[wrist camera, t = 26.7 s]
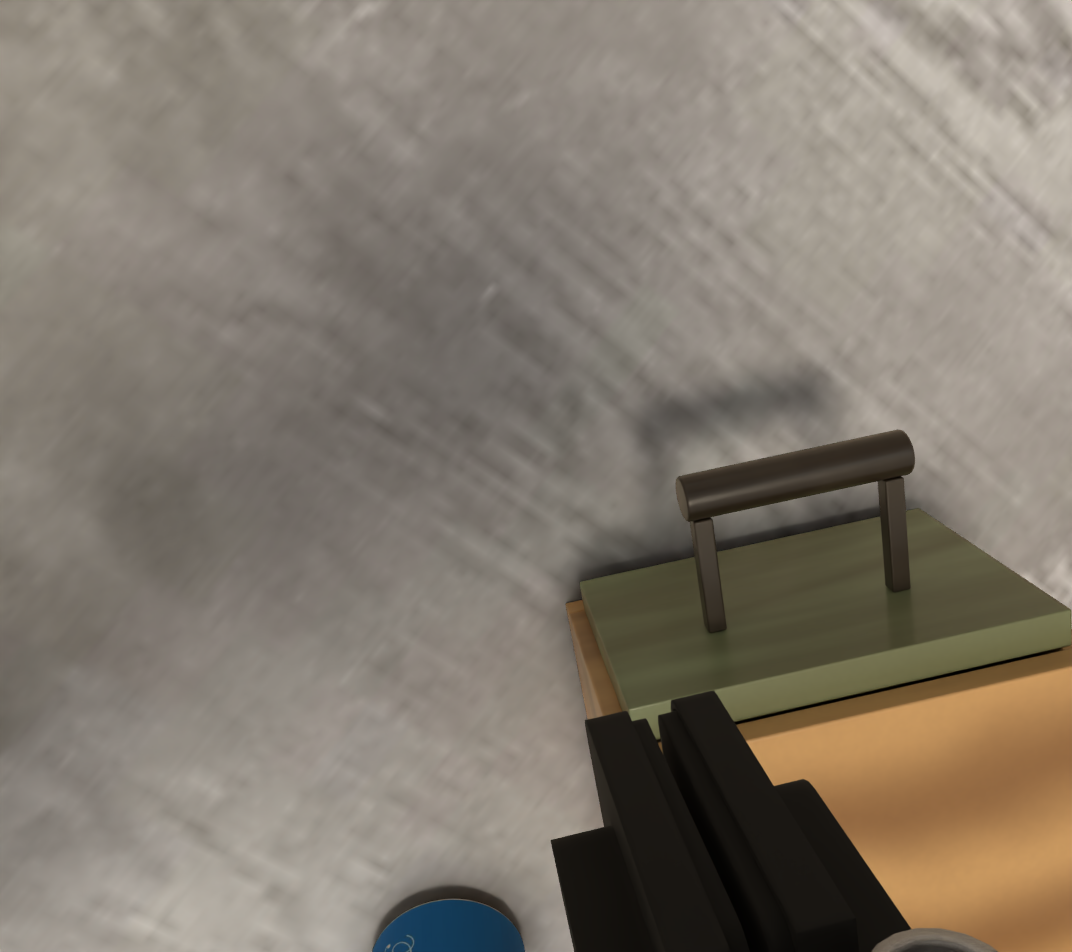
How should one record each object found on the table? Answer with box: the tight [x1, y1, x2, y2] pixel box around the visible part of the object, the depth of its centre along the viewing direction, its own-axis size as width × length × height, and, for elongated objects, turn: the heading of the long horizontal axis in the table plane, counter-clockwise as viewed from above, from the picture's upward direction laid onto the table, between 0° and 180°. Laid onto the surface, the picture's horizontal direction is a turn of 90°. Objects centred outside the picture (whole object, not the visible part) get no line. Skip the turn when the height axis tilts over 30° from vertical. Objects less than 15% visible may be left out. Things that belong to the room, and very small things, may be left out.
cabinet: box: [566, 600, 1072, 952], centre depth 34 cm, size 17×14×11 cm
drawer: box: [580, 430, 1071, 742], centre depth 33 cm, size 21×13×9 cm, turn 10°
